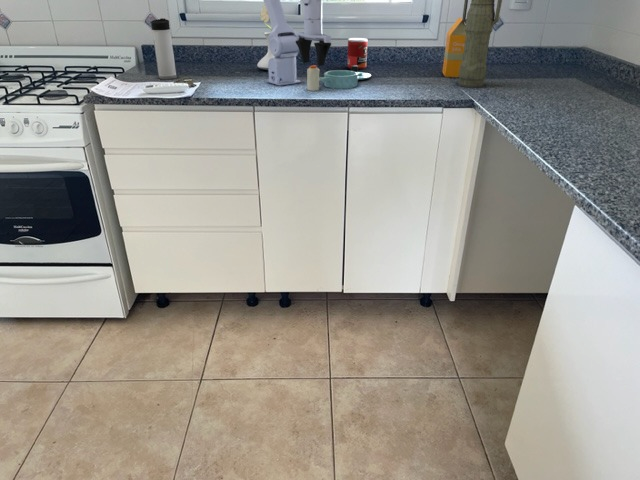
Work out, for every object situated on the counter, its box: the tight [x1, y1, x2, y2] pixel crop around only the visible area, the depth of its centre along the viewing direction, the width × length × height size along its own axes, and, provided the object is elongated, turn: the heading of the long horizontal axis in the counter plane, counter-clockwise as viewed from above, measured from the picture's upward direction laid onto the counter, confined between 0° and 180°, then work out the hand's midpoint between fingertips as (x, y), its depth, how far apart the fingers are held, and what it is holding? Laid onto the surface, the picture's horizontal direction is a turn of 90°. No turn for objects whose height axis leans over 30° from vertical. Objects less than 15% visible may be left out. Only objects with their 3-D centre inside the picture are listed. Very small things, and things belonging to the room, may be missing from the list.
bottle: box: [306, 64, 320, 92], centre depth 163 cm, size 4×4×8 cm
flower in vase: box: [257, 5, 275, 71], centre depth 190 cm, size 13×11×25 cm
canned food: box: [347, 37, 368, 70], centre depth 199 cm, size 8×8×11 cm
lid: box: [350, 65, 372, 81], centre depth 181 cm, size 13×13×4 cm
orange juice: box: [442, 17, 466, 78], centre depth 183 cm, size 8×9×20 cm
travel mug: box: [150, 17, 177, 80], centre depth 177 cm, size 6×7×20 cm
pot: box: [319, 69, 362, 90], centre depth 170 cm, size 12×17×4 cm
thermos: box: [457, 0, 503, 89], centre depth 163 cm, size 9×12×35 cm
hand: (313, 64), depth 161 cm, fingers open, 7 cm apart
